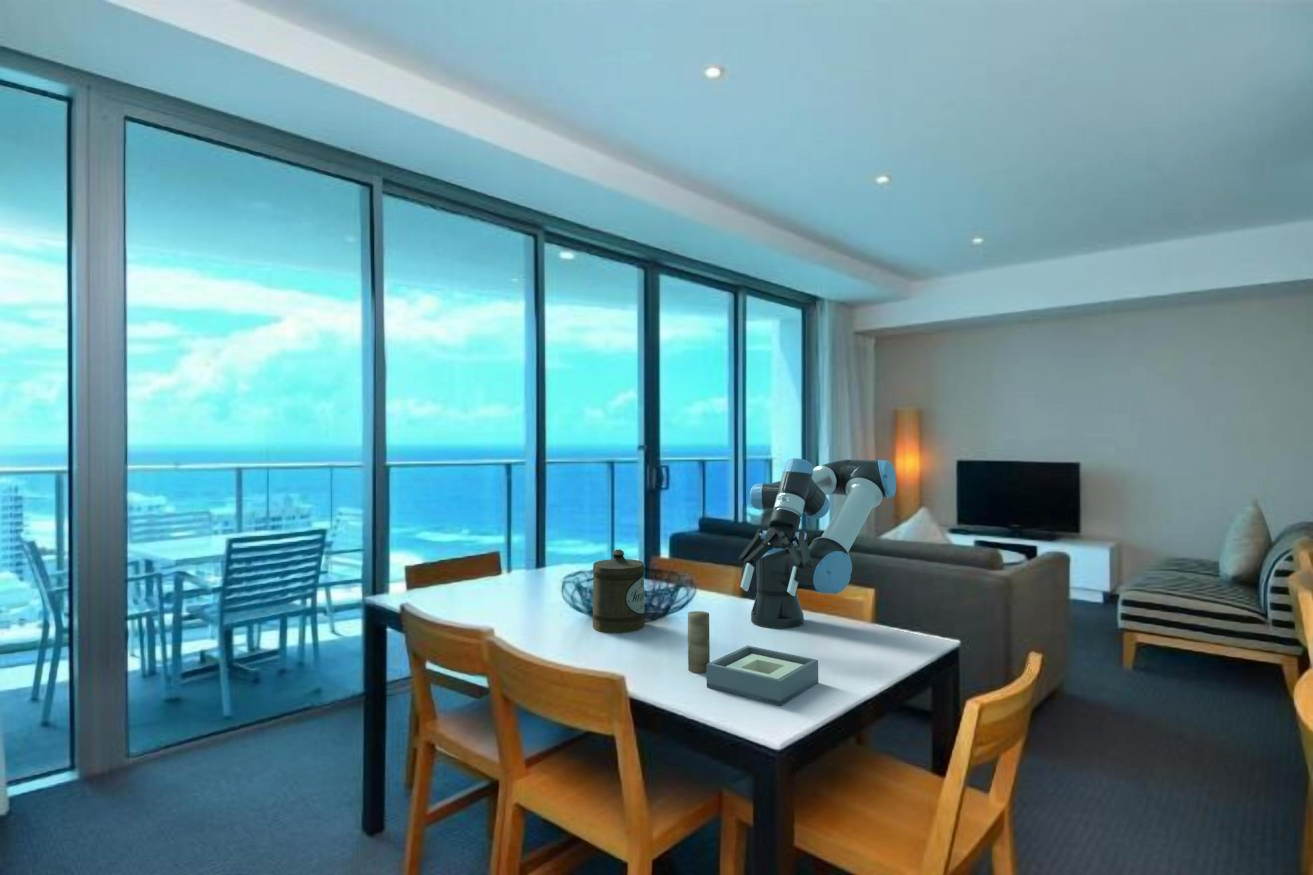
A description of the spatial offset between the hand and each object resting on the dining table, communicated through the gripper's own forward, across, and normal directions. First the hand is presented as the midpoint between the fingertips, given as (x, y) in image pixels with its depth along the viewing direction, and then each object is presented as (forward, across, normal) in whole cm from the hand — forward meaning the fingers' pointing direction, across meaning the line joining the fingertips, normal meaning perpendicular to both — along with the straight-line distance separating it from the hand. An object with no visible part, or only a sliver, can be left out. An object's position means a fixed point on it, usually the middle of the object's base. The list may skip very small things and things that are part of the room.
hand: (766, 591), depth 176 cm
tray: (+24, +10, -7) cm, 26 cm away
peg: (+23, -7, -8) cm, 26 cm away
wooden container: (+14, -48, +4) cm, 50 cm away
